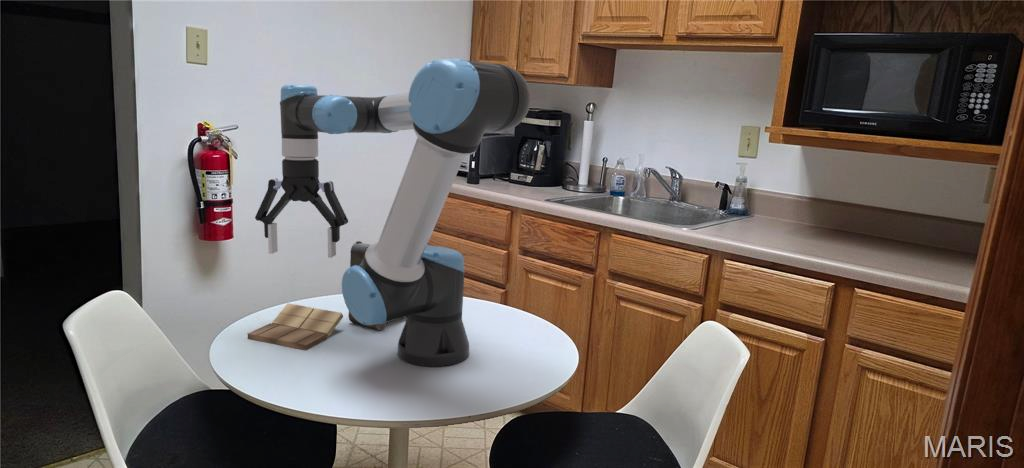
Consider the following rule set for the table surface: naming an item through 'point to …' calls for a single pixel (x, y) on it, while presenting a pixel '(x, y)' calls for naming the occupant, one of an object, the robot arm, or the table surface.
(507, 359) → the table surface
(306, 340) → the walnut row
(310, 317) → the oak plank
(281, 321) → the oak plank
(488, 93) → the robot arm
